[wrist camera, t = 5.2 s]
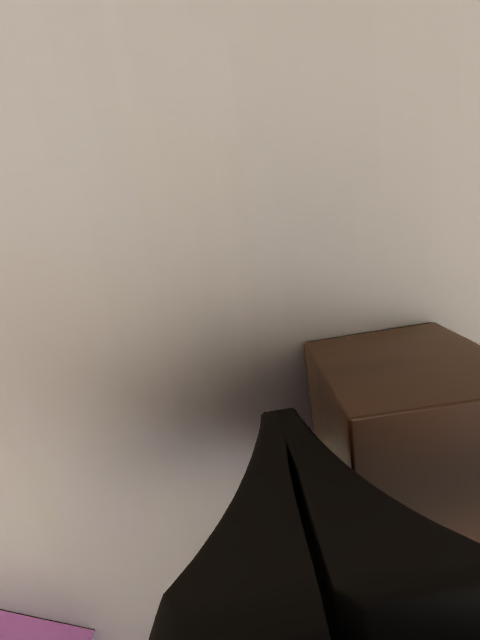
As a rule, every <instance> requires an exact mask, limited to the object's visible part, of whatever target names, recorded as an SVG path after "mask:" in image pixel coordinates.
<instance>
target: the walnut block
mask: <svg viewBox="0 0 480 640" xmlns="http://www.w3.org/2000/svg"><path fill="white" fill-rule="evenodd" d="M304 345H305V355H306V364H307V373H308V383H309V392H310V401H311V411H312V420H313V429H314V434H315V435H316V436H317V437H318V438H319V439H320V440H321V441H322V442H323V443H324V444H325V445H326V446H327V447H328V448H329V449H330V450H331V451H332V452H333V453H334V454H335V455H336V456H337V457H339V458H340V459H341V460H342V461H343V462H344V463H345V464H347V465H348V466H349V467H350V468H351V469H353V470H354V471H355V472H356V473H358V474H359V475H360V476H362V477H363V478H364V479H366V480H367V481H368V482H370V483H371V484H373V485H374V486H375V487H377V488H378V489H380V490H381V491H383V492H384V493H386V494H387V495H389V496H391V497H392V498H394V499H395V500H397V501H399V502H400V503H402V504H403V505H405V506H407V507H408V508H410V509H412V510H414V511H416V512H417V513H419V514H421V515H423V516H425V517H427V518H428V519H430V520H432V521H434V522H436V523H438V524H440V525H442V526H444V527H447V528H449V529H451V530H453V531H455V532H457V533H459V534H461V535H464V536H466V537H468V538H470V539H472V540H474V541H476V542H478V543H480V345H479V344H477V343H475V342H473V341H471V340H469V339H467V338H465V337H463V336H461V335H459V334H457V333H455V332H453V331H451V330H449V329H447V328H445V327H443V326H441V325H439V324H437V323H427V324H421V325H414V326H408V327H401V328H395V329H389V330H382V331H376V332H369V333H363V334H356V335H350V336H343V337H337V338H331V339H324V340H318V341H311V342H306V343H305V344H304Z"/></svg>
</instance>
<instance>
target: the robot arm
mask: <svg viewBox="0 0 480 640" xmlns="http://www.w3.org/2000/svg"><path fill="white" fill-rule="evenodd" d="M149 640H480V543H478V542H476V541H474V540H472V539H470V538H468V537H466V536H464V535H461V534H459V533H457V532H455V531H453V530H451V529H449V528H447V527H444V526H442V525H440V524H438V523H436V522H434V521H432V520H430V519H428V518H427V517H425V516H423V515H421V514H419V513H417V512H416V511H414V510H412V509H410V508H408V507H407V506H405V505H403V504H402V503H400V502H399V501H397V500H395V499H394V498H392V497H391V496H389V495H387V494H386V493H384V492H383V491H381V490H380V489H378V488H377V487H375V486H374V485H373V484H371V483H370V482H368V481H367V480H366V479H364V478H363V477H362V476H360V475H359V474H358V473H356V472H355V471H354V470H353V469H351V468H350V467H349V466H348V465H347V464H345V463H344V462H343V461H342V460H341V459H340V458H339V457H337V456H336V455H335V454H334V453H333V452H332V451H331V450H330V449H329V448H328V447H327V446H326V445H325V444H324V443H323V442H322V441H321V440H320V439H319V438H318V437H317V436H316V435H315V434H314V433H313V432H312V430H311V429H310V428H309V427H308V426H307V425H306V423H305V422H304V421H303V420H302V418H301V417H300V416H299V414H298V413H297V411H296V410H295V409H294V408H287V409H281V410H275V411H269V412H264V413H263V414H262V415H261V424H260V429H259V434H258V438H257V441H256V444H255V448H254V451H253V454H252V457H251V459H250V462H249V465H248V467H247V470H246V472H245V475H244V477H243V479H242V481H241V484H240V486H239V488H238V490H237V492H236V494H235V496H234V498H233V500H232V501H231V503H230V505H229V507H228V508H227V510H226V512H225V513H224V515H223V517H222V518H221V520H220V522H219V523H218V525H217V526H216V528H215V529H214V531H213V532H212V534H211V535H210V536H209V538H208V539H207V541H206V542H205V544H204V545H203V546H202V548H201V549H200V551H199V552H198V553H197V555H196V556H195V557H194V559H193V560H192V561H191V562H190V564H189V565H188V566H187V567H186V568H185V570H184V571H183V572H182V573H181V574H180V576H179V577H178V578H177V579H176V580H175V581H174V583H173V584H172V585H171V586H170V587H169V589H168V590H167V591H166V592H165V593H164V594H163V597H162V599H161V602H160V605H159V608H158V611H157V614H156V617H155V620H154V624H153V627H152V630H151V633H150V637H149Z"/></svg>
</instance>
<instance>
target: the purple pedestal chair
mask: <svg viewBox="0 0 480 640" xmlns="http://www.w3.org/2000/svg"><path fill="white" fill-rule="evenodd" d="M94 631H95V630H90V629H86V628H81V627H76V626H71V625H67V624H62V623H57V622H53V621H48V620H43V619H39V618H34V617H29V616H25V615H20V614H15V613H11V612H6V611H1V610H0V640H91V639H92V636H93V634H94Z"/></svg>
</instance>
